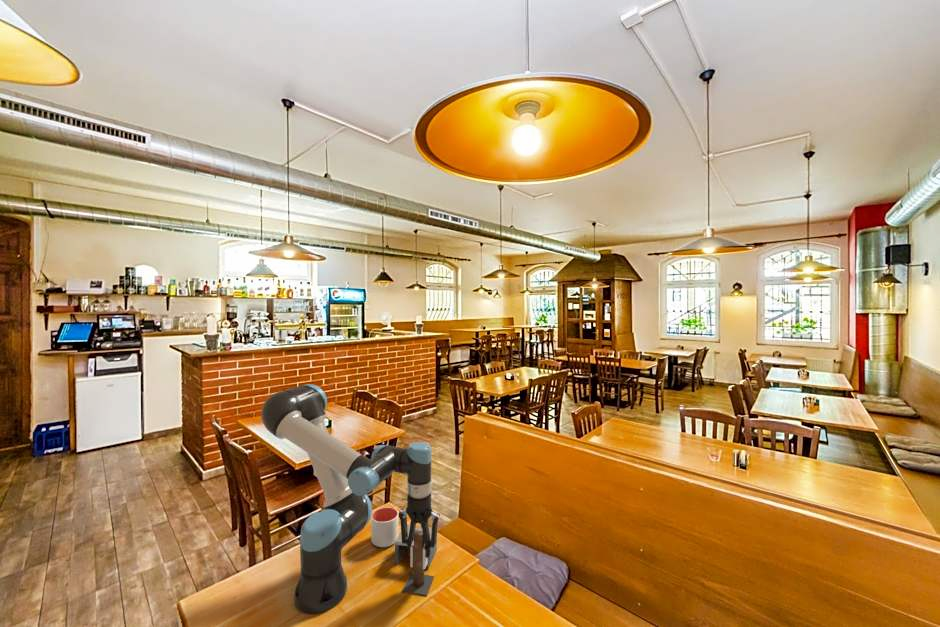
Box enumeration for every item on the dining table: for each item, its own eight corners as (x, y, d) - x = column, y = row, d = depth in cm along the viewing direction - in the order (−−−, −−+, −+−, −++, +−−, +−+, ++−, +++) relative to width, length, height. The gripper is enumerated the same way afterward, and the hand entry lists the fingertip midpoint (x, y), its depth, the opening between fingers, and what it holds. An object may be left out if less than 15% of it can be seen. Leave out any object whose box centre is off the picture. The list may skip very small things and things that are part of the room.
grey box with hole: (394, 564, 130) (394, 541, 129) (405, 545, 140) (405, 524, 139) (428, 569, 127) (428, 546, 127) (436, 550, 137) (436, 528, 137)
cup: (403, 537, 144) (403, 512, 144) (384, 552, 136) (384, 525, 135) (384, 529, 149) (384, 504, 149) (365, 542, 141) (365, 516, 141)
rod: (411, 586, 119) (412, 537, 119) (415, 578, 123) (415, 530, 122) (422, 588, 119) (422, 538, 118) (425, 580, 122) (425, 532, 121)
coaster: (402, 591, 118) (402, 590, 118) (411, 573, 125) (411, 572, 125) (426, 596, 116) (426, 594, 116) (434, 577, 124) (434, 576, 124)
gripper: (390, 496, 118) (390, 569, 118) (441, 502, 114) (440, 577, 115) (399, 484, 125) (399, 553, 126) (447, 490, 122) (447, 561, 123)
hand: (419, 565), depth 120 cm, fingers closed on rod, 3 cm apart
